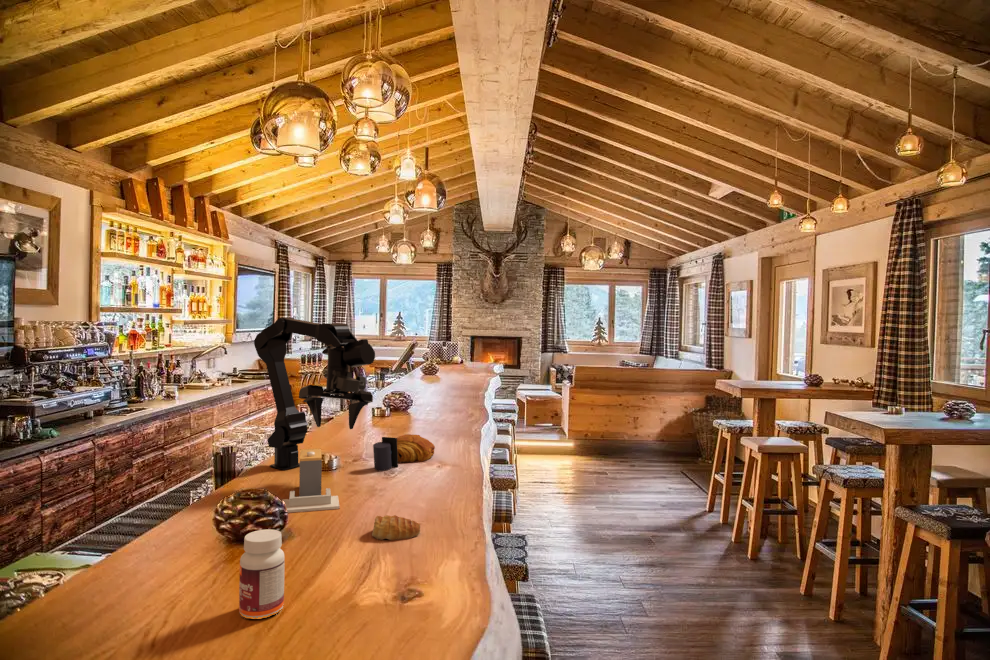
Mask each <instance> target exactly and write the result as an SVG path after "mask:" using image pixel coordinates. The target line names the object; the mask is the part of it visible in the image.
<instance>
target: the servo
mask: <svg viewBox="0 0 990 660" xmlns="http://www.w3.org/2000/svg"><path fill="white" fill-rule="evenodd" d="M299 450H300V451H299V463H300V466H299V484H298V485H299V491H298V492H299V493H298V494H299V495H298V497H302V496H316V495H322V478H323V477H322V472H323V471H322V469H323V468H322V464H323V463H322V461H323V459H322V458H323V457H322V448H320V447H319V448H303V449H299Z"/></svg>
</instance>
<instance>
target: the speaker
mask: <svg viewBox="0 0 990 660" xmlns="http://www.w3.org/2000/svg"><path fill="white" fill-rule="evenodd" d="M372 447H373V448H372V449H373V463H374V465H373V466H374V467H373V468H374V469H375V470H376V471H379V472H383V471H384V472H385V471H388V470H390V469H392V468H398V467H399V462H398V451H397V437H389V436H381V441H379V442H376V443H374V444H373V445H372Z"/></svg>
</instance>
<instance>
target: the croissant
mask: <svg viewBox="0 0 990 660" xmlns="http://www.w3.org/2000/svg"><path fill="white" fill-rule="evenodd" d="M396 438H397V451H398V463H406V462H407V463H409V462H411V463H413V462H415V463H418V462H419V463H420V462H421V463H422V462H424V461H428V460H429V459H431V458H432V457H433V456H434V455H435V449H436V447H435V445H434V443H432V442H431V441H430V440H429V439H427V438H425V437H422V436H421V435H419V434H409V433H408V434H403V435H400V436H398V437H396Z"/></svg>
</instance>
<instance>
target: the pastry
mask: <svg viewBox="0 0 990 660" xmlns="http://www.w3.org/2000/svg"><path fill="white" fill-rule="evenodd" d="M373 523H374V524H373V527H372V533H371V536H372V537H374V538H375V539H377V540H383V541H384V540H385V539H387V540H389V541H395V540H406V539H407V540H409V539H411V538H414V537H418V536H419V535H420V534H421V524H420V523H418V522H417V521H415V520H411V519H409V518H405V517H403V516H397V515H396V514H395V515H388V514H385V515H384V516H381V515H376V516H375V518H374V522H373Z"/></svg>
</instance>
